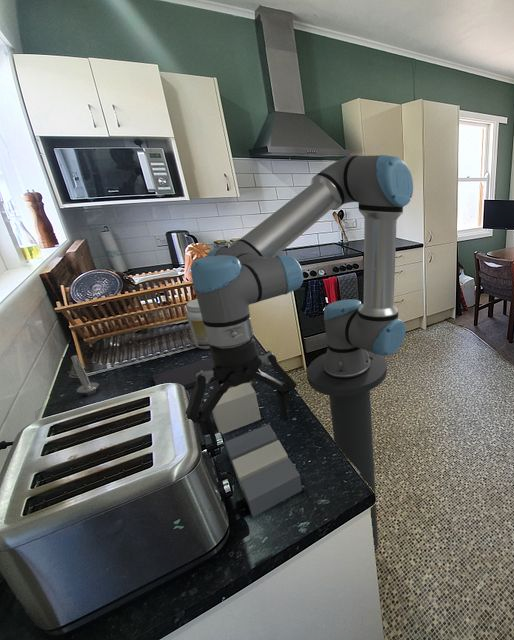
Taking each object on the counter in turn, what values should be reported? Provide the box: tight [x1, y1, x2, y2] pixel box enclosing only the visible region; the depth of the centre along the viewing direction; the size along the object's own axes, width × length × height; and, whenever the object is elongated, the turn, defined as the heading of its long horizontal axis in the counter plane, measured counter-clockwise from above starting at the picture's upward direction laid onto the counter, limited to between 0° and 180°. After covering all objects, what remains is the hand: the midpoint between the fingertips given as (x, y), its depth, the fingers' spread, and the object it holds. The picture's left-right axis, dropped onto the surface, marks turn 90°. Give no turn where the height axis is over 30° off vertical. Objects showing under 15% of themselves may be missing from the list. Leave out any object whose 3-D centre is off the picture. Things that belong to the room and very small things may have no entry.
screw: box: [70, 355, 100, 397], centre depth 100 cm, size 13×5×5 cm
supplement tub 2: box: [185, 298, 210, 350], centre depth 130 cm, size 12×12×17 cm
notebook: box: [152, 357, 217, 390], centre depth 112 cm, size 13×2×21 cm
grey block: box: [224, 423, 279, 472], centre depth 82 cm, size 10×6×4 cm, turn 130°
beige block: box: [207, 383, 259, 421], centre depth 91 cm, size 10×6×4 cm, turn 130°
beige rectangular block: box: [211, 405, 262, 435], centre depth 92 cm, size 10×6×4 cm, turn 130°
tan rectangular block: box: [232, 439, 289, 493], centre depth 77 cm, size 10×6×4 cm, turn 130°
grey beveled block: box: [240, 457, 303, 518], centre depth 72 cm, size 10×6×4 cm, turn 130°
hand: (251, 430), depth 73 cm, fingers open, 13 cm apart
